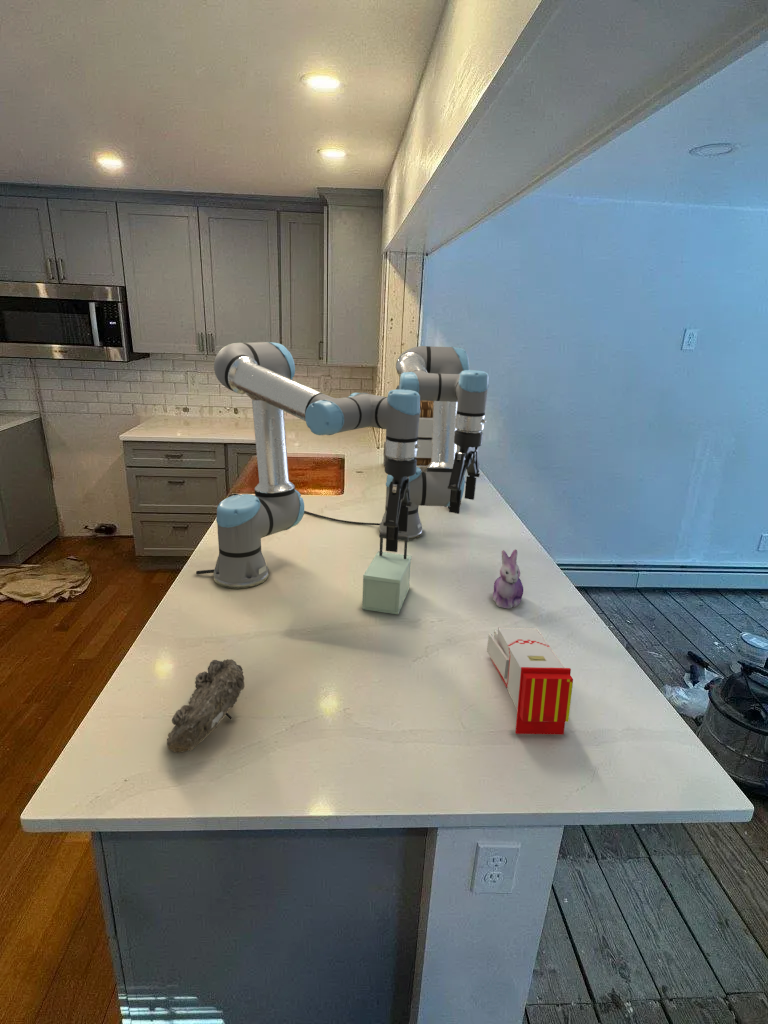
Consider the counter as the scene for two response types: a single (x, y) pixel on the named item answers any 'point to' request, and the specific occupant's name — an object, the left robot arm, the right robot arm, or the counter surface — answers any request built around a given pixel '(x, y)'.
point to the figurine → (508, 583)
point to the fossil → (206, 705)
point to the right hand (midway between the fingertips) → (461, 505)
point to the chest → (385, 594)
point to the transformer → (424, 434)
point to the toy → (532, 679)
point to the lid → (389, 563)
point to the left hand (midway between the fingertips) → (396, 540)
